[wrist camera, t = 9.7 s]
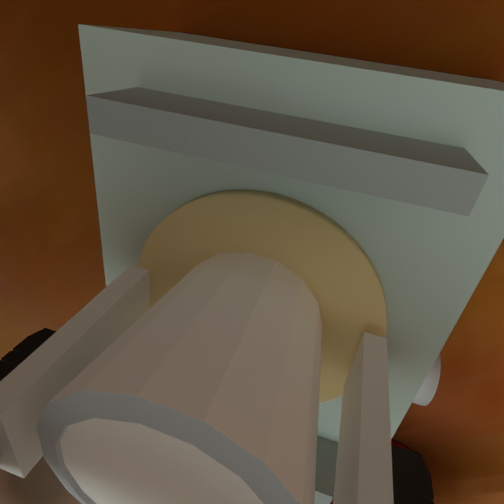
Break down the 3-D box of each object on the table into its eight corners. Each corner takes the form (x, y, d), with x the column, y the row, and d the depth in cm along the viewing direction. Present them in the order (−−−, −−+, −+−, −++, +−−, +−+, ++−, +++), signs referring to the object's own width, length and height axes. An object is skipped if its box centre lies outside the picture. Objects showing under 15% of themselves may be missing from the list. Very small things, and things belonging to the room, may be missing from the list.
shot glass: (363, 371, 14) (355, 607, 8) (214, 385, 17) (128, 565, 11) (301, 212, 11) (224, 381, 6) (140, 260, 14) (-21, 404, 9)
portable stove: (179, 32, 17) (10, 19, 9) (540, 87, 14) (747, 136, 6) (174, 318, 26) (88, 434, 19) (392, 386, 24) (401, 557, 16)
